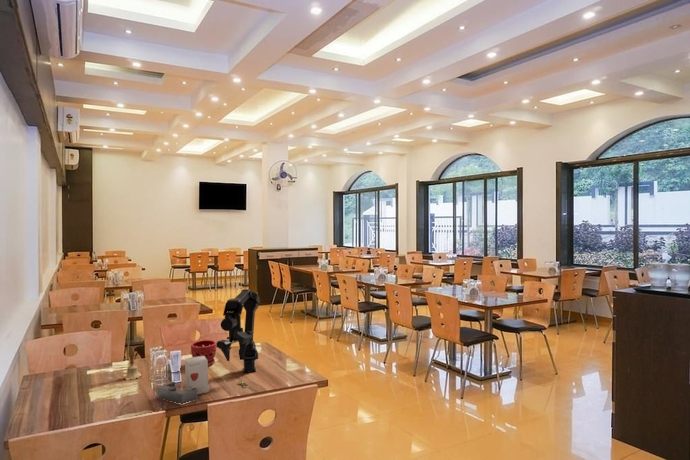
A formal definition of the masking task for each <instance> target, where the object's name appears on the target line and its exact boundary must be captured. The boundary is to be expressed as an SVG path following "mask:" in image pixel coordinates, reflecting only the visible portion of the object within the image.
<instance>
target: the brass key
mask: <svg viewBox="0 0 690 460" xmlns="http://www.w3.org/2000/svg"><path fill="white" fill-rule="evenodd" d="M237 384H238V385H241V386H242V388H243V389H247V388H249V384H247V383H245V381H244V380H240V381H238V382H237Z"/></svg>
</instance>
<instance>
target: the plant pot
mask: <svg viewBox="0 0 690 460" xmlns="http://www.w3.org/2000/svg"><path fill="white" fill-rule="evenodd" d="M216 343H217V342H216V341H215V340H212V339H211V340H210V339H205V340H204V339H203V340H197V341H194V342H192V343H191V345H190V353H191V358H192V357H199V356H205V358H206V359H207V360H208V367H209V366H212V365H214V364H215V362H216V359H215V356H216V353H217V347H216Z"/></svg>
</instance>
